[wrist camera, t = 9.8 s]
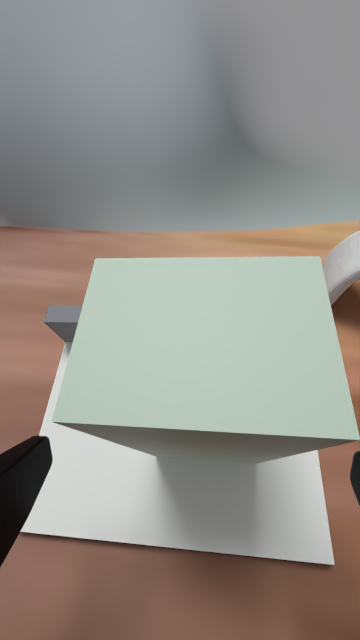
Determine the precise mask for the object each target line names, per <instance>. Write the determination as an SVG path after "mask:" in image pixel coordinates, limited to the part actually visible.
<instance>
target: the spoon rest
mask: <svg viewBox="0 0 360 640" xmlns="http://www.w3.org/2000/svg"><path fill="white" fill-rule="evenodd" d="M323 272H324V277H325V281H326V286H327V290H328V295H329V300H330V304H331V305H332V304H333V303H334V302H335V301H336V300H337V299H338V298H339V297H340V295H341V294H342V293H343V292H344V291H345V290H346V289H347V288H348V287H350V286H351V285H352V284H353V283H354V282H356V281H357V280H359V279H360V231H358V232H356V233H354V234H352V235H350V236H349V237H347V238H346V239H344V240H343V241H341V242H340V243H339V244H338V245H336V246H335V247H334V249H333V250H332V251H331V252H330V253H329V254H328V256H327V257H326V259H325V260H324V263H323Z"/></svg>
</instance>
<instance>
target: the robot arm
mask: <svg viewBox="0 0 360 640" xmlns="http://www.w3.org/2000/svg"><path fill="white" fill-rule="evenodd" d="M52 461H53V457H52V451H51V446H50V440H49V438H48V437H47V436H33V437H31V438H29V439H27V440H25V441H23V442H22V443H20V444H18V445H16V446H14V447H13V448H11V449H9V450H7V451H5V452H3V453H2V454H0V567H1V565H2V563H3V561H4V560H5V558H6V556H7V554H8V553H9V551H10V549H11V547H12V545H13V544H14V542H15V540H16V538H17V536H18V535H19V533H20V531H21V529H22V528H23V526H24V524H25V522H26V520H27V518H28V516H29V514H30V512H31V510H32V508H33V506H34V503H35V501H36V499H37V497H38V495H39V492H40V490H41V488H42V486H43V483H44V481H45V479H46V477H47V475H48V472H49V470H50V468H51V465H52ZM350 480H351V484H352V487H353V490H354V492H355V495H356V498H357V500H358V503H359V505H360V451H357V452H355V454H354V456H353V461H352V467H351V473H350Z"/></svg>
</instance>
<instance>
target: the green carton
mask: <svg viewBox="0 0 360 640" xmlns="http://www.w3.org/2000/svg"><path fill="white" fill-rule="evenodd" d="M51 422H54V423H57V424H60V425H63V426H66V427H69V428H72V429H75V430H78V431H81V432H84V433H87V434H90V435H93V436H96V437H99V438H102V439H105V440H108V441H111V442H114V443H117V444H120V445H123V446H126V447H129V448H132V449H135V450H138V451H141V452H144V453H147V454H150V455H153V456H156V457H169V458H183V459H197V460H211V461H225V462H239V463H254V464H257V463H262V462H266V461H270V460H275V459H279V458H284V457H288V456H292V455H297V454H301V453H306V452H310V451H314V450H319V449H323V448H328V447H332V446H336V445H341V444H345V443H349V442H354V441H358V440H360V437H359V433H358V428H357V423H356V419H355V414H354V410H353V405H352V400H351V396H350V391H349V387H348V382H347V377H346V373H345V368H344V364H343V359H342V355H341V350H340V345H339V341H338V336H337V332H336V327H335V322H334V318H333V313H332V309H331V304H330V300H329V295H328V290H327V286H326V281H325V277H324V272H323V267H322V263H321V258H320V256H300V257H194V258H95V262H94V266H93V269H92V273H91V277H90V280H89V284H88V288H87V292H86V295H85V299H84V303H83V306H82V310H81V314H80V317H79V321H78V325H77V329H76V332H75V336H74V340H73V343H72V347H71V351H70V355H69V358H68V362H67V366H66V369H65V373H64V377H63V380H62V384H61V388H60V392H59V395H58V399H57V403H56V406H55V410H54V414H53V418H52V421H51Z"/></svg>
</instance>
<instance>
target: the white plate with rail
mask: <svg viewBox="0 0 360 640" xmlns="http://www.w3.org/2000/svg"><path fill="white" fill-rule="evenodd" d="M81 310H82V306H79V305H49V308H48V311H47V314H46V317H45V320H44V323H45V324H46V325H48V326H49V327H50V328H51V329H52V330H53V331H54V332H55V333H56V334H57V335H58V336H60V337H61V338H62V339H63V340H64V341H65V346H64V349H63V353H62V356H61V360H60V363H59V367H58V370H57V374H56V378H55V381H54V385H53V388H52V392H51V395H50V399H49V402H48V406H47V409H46V413H45V416H44V420H43V424H42V427H41V431H40V434H39V436H47V437H48V438H49V440H50V446H51V451H52V457H53V461H52V465H51V468H50V470H49V472H48V475H47V477H46V479H45V481H44V483H43V486H42V488H41V490H40V492H39V495H38V497H37V499H36V501H35V503H34V506H33V508H32V510H31V512H30V514H29V516H28V518H27V520H26V522H25V524H24V526H23V528H22V529H21V531H20V532H28V533H37V534H47V535H56V536H66V537H75V538H85V539H94V540H103V541H113V542H122V543H132V544H141V545H151V546H160V547H169V548H179V549H188V550H198V551H207V552H217V553H226V554H236V555H245V556H254V557H264V558H273V559H283V560H292V561H302V562H311V563H321V564H330V565H334V558H333V551H332V545H331V538H330V531H329V525H328V518H327V511H326V505H325V498H324V491H323V485H322V478H321V471H320V465H319V458H318V451H317V450H314V451H310V452H306V453H301V454H297V455H292V456H288V457H284V458H279V459H275V460H270V461H266V462H262V463H257V464H254V463H239V462H225V461H211V460H197V459H183V458H169V457H156V456H153V455H150V454H147V453H144V452H141V451H138V450H135V449H132V448H129V447H126V446H123V445H120V444H117V443H114V442H111V441H108V440H105V439H102V438H99V437H96V436H93V435H90V434H87V433H84V432H81V431H78V430H75V429H72V428H69V427H66V426H63V425H60V424H57V423H54V422H51V421H52V418H53V414H54V410H55V406H56V403H57V399H58V395H59V392H60V388H61V384H62V380H63V377H64V373H65V369H66V366H67V362H68V358H69V355H70V351H71V347H72V343H73V340H74V336H75V332H76V329H77V325H78V321H79V317H80V314H81Z"/></svg>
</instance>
